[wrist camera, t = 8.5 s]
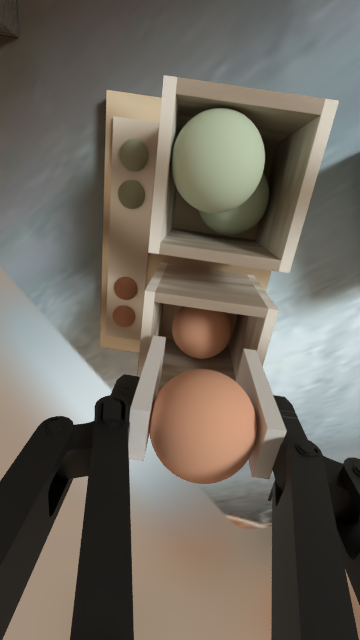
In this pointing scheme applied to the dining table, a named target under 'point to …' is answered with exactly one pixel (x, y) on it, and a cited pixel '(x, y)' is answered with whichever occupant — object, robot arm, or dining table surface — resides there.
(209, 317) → the ball terracotta in tube
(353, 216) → the dining table surface
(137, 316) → the rack
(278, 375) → the dining table surface
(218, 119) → the ball sage upper
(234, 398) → the ball terracotta
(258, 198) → the ball sage lower
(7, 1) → the post
